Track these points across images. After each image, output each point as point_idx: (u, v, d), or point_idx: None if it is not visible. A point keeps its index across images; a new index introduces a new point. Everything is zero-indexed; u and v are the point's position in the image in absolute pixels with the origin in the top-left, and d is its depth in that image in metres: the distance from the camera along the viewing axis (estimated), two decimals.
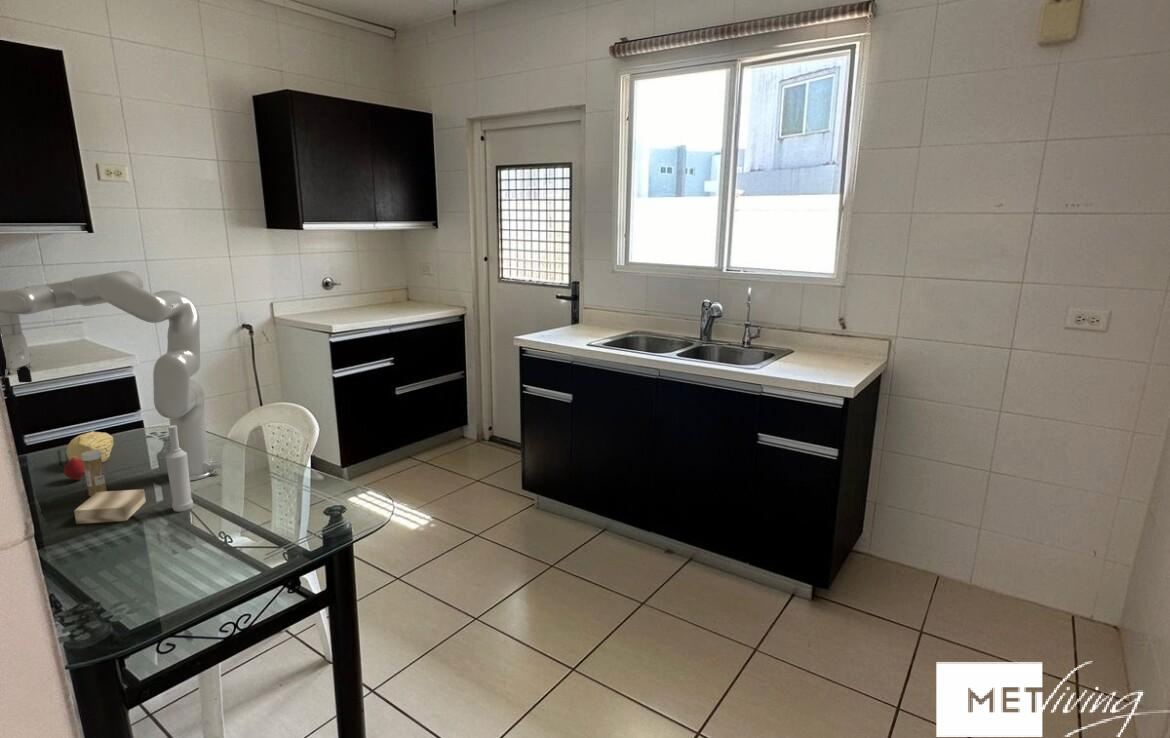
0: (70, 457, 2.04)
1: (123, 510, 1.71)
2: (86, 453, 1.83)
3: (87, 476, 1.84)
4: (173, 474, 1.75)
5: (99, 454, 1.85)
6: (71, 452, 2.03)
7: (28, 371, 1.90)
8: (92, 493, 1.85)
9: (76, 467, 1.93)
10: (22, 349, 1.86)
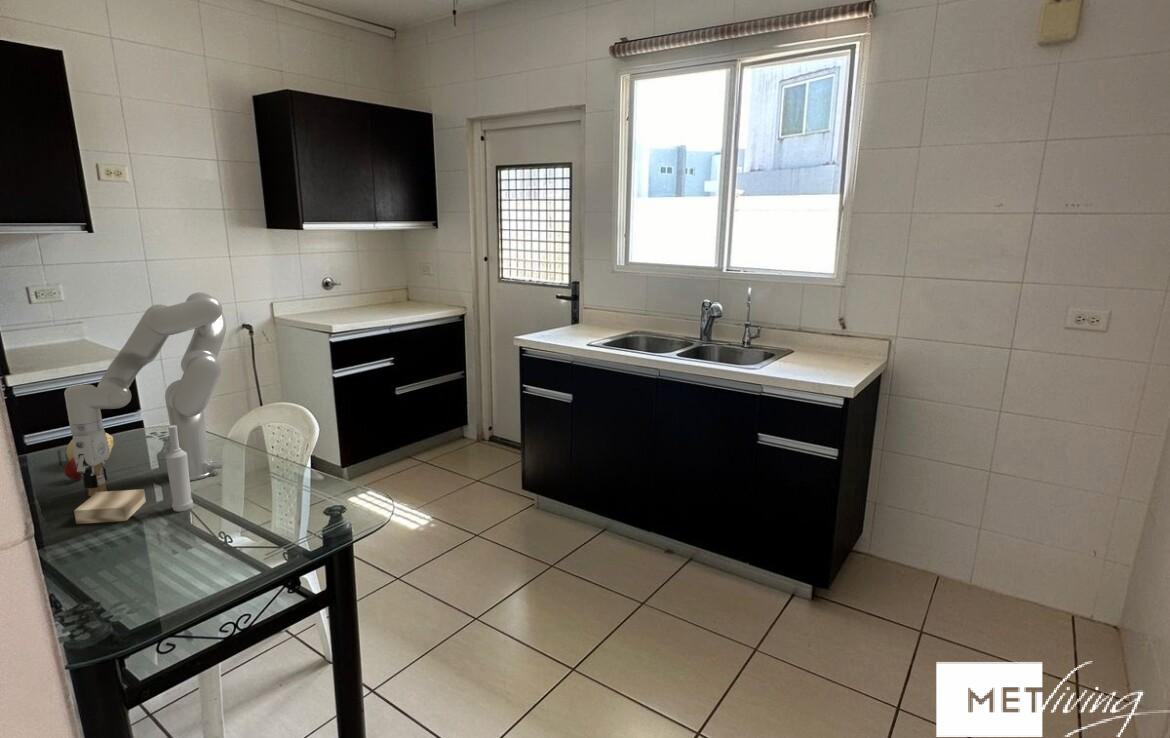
0: (70, 457, 2.04)
1: (123, 510, 1.71)
2: None
3: None
4: (173, 474, 1.75)
5: None
6: (71, 452, 2.03)
7: (104, 470, 1.88)
8: (92, 493, 1.85)
9: (76, 467, 1.93)
10: (103, 444, 1.86)
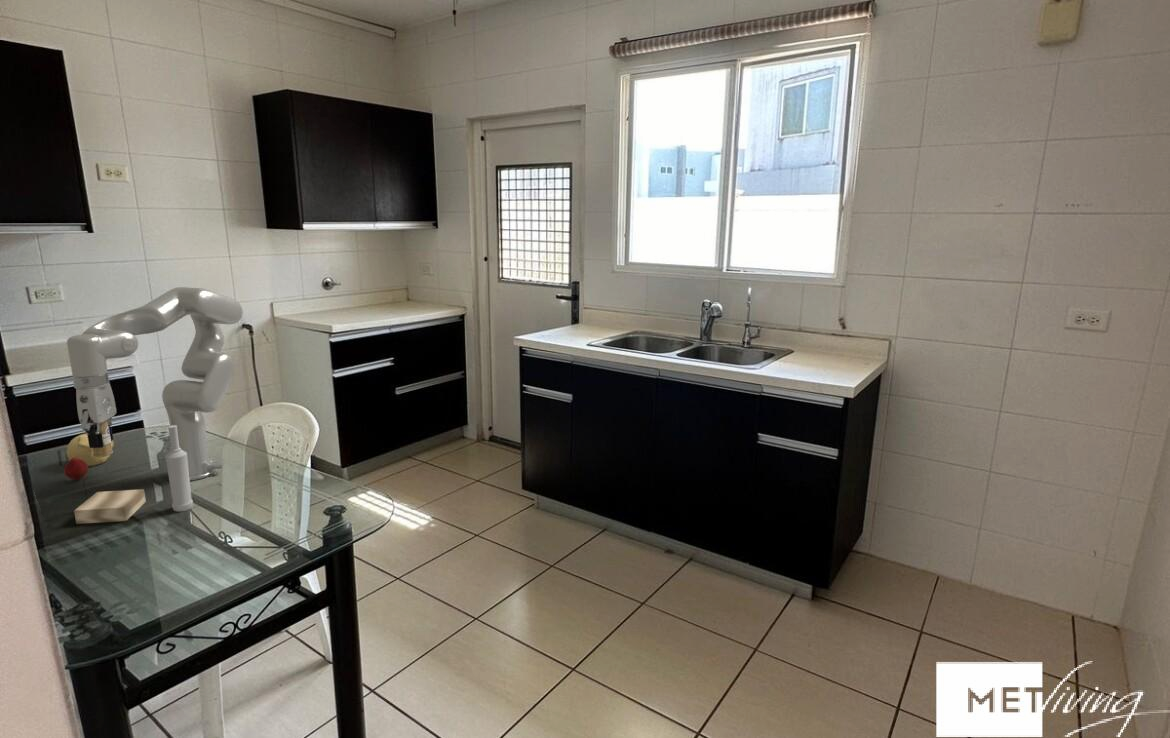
0: (70, 457, 2.04)
1: (123, 510, 1.71)
2: None
3: None
4: (173, 474, 1.75)
5: None
6: (71, 452, 2.03)
7: (110, 429, 1.73)
8: (97, 453, 1.70)
9: (76, 467, 1.93)
10: (109, 400, 1.71)
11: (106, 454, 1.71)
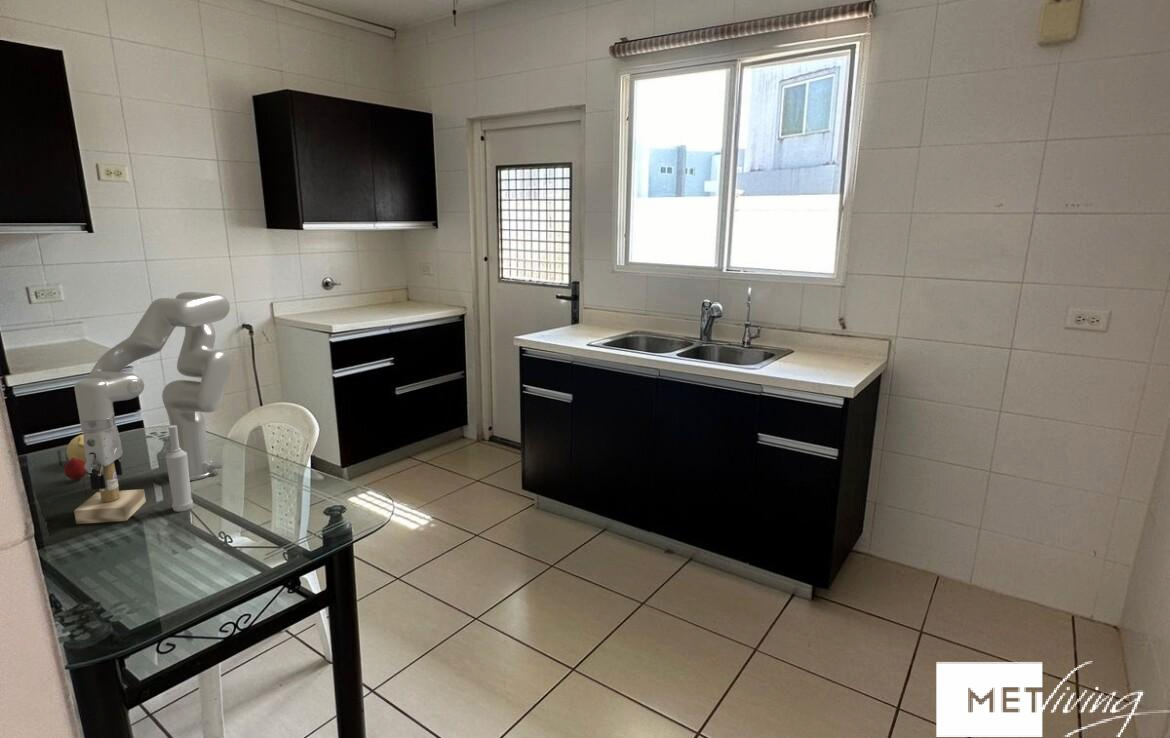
0: (70, 457, 2.04)
1: (123, 510, 1.71)
2: None
3: None
4: (173, 474, 1.75)
5: None
6: (71, 452, 2.03)
7: (119, 464, 1.78)
8: (105, 498, 1.73)
9: (76, 467, 1.93)
10: (115, 442, 1.73)
11: (114, 498, 1.74)
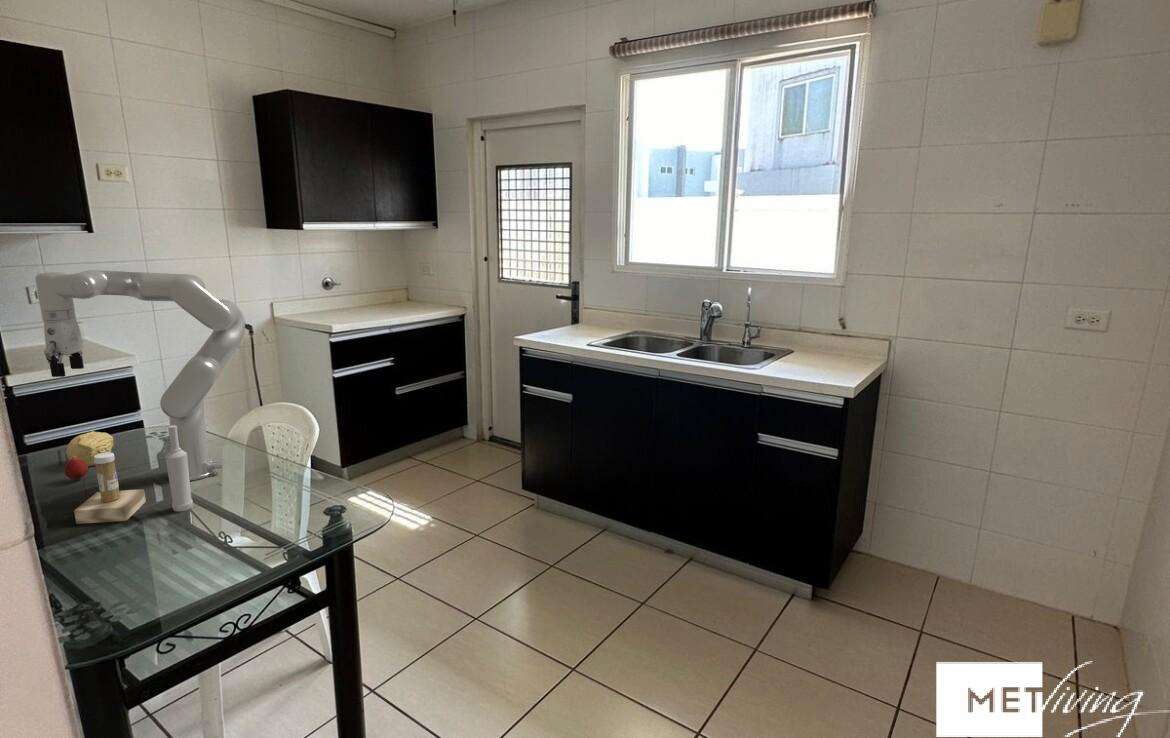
0: (70, 457, 2.04)
1: (123, 510, 1.71)
2: (98, 456, 1.71)
3: (99, 480, 1.72)
4: (173, 474, 1.75)
5: (112, 457, 1.73)
6: (71, 452, 2.03)
7: (80, 357, 1.88)
8: (105, 498, 1.73)
9: (76, 467, 1.93)
10: (76, 335, 1.83)
11: (114, 499, 1.74)
